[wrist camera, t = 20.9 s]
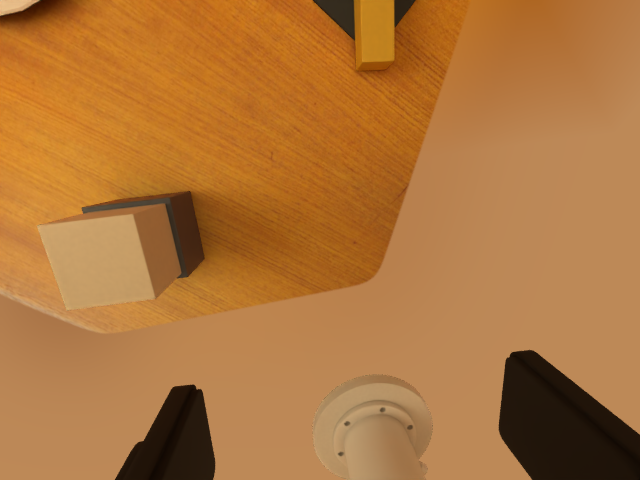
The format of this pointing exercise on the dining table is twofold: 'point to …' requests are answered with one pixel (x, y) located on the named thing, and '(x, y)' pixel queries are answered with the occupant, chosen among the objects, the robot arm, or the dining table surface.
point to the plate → (15, 6)
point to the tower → (123, 249)
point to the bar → (374, 34)
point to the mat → (341, 10)
